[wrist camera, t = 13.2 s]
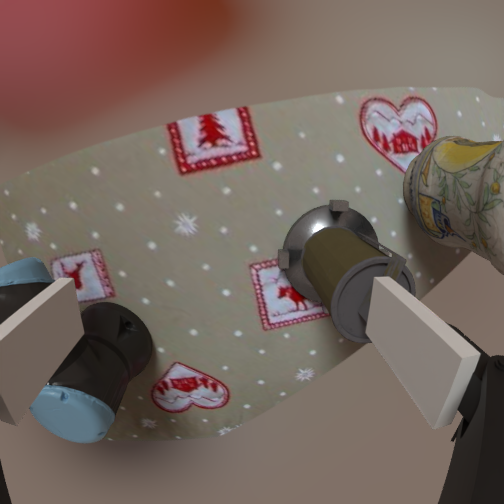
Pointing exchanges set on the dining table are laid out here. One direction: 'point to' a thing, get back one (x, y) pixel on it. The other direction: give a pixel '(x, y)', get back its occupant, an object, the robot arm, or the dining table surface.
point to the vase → (460, 195)
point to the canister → (349, 276)
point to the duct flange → (306, 227)
